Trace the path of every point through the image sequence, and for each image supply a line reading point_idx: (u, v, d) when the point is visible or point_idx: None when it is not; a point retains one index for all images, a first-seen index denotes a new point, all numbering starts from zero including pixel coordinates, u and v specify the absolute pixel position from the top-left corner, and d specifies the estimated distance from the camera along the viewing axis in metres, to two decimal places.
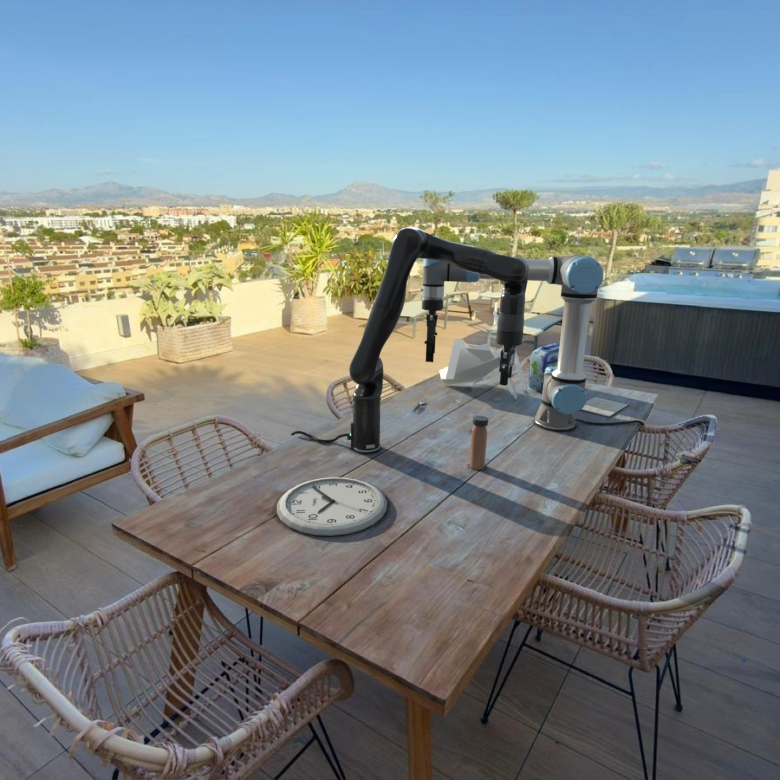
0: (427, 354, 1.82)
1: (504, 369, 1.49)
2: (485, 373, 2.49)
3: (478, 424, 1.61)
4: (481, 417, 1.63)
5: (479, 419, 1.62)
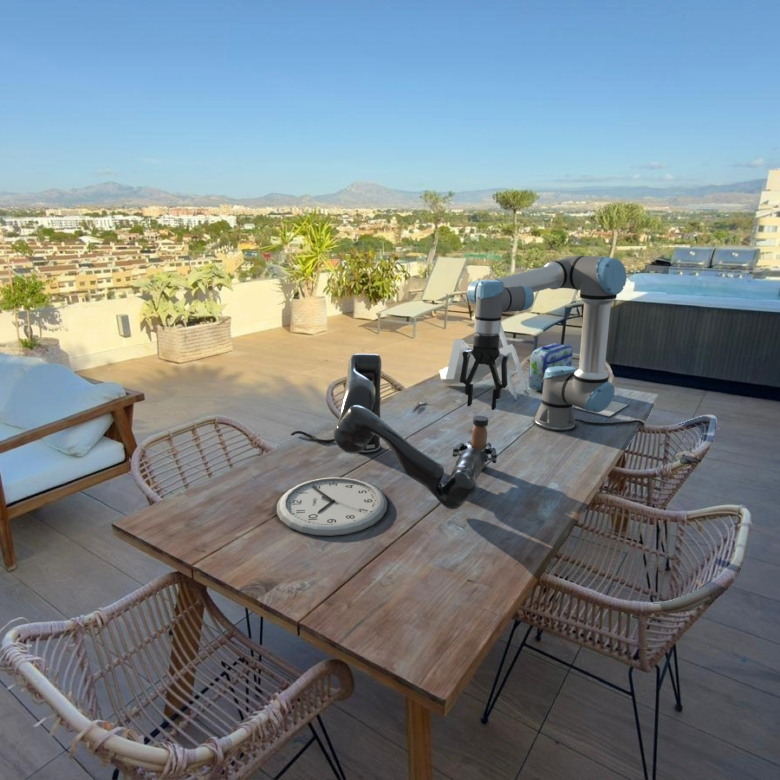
0: None
1: None
2: (485, 373, 2.49)
3: (478, 424, 1.61)
4: (481, 417, 1.63)
5: (479, 419, 1.62)
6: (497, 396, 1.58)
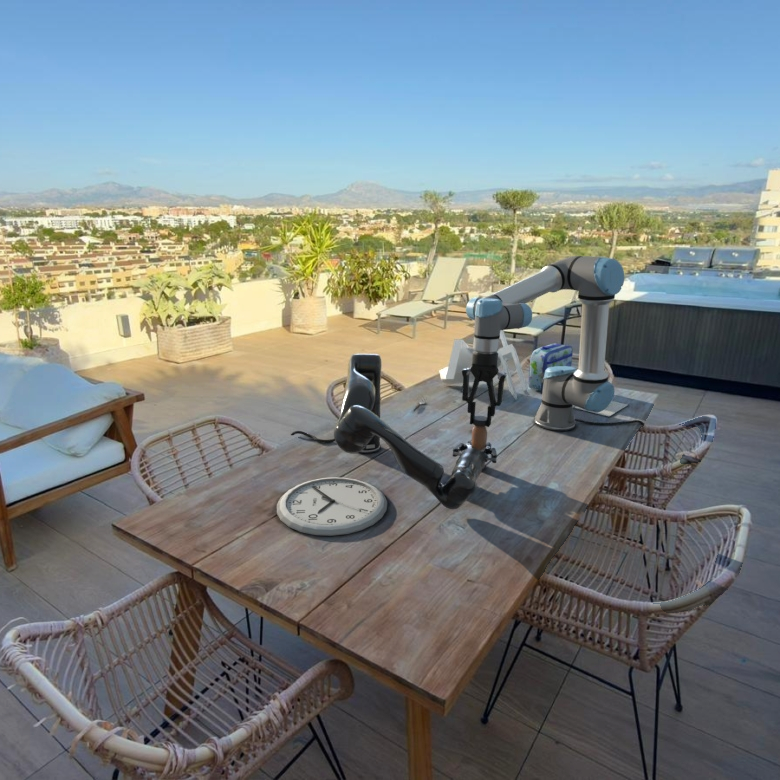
0: None
1: None
2: None
3: (478, 424, 1.61)
4: (481, 417, 1.63)
5: (479, 419, 1.62)
6: (492, 413, 1.60)
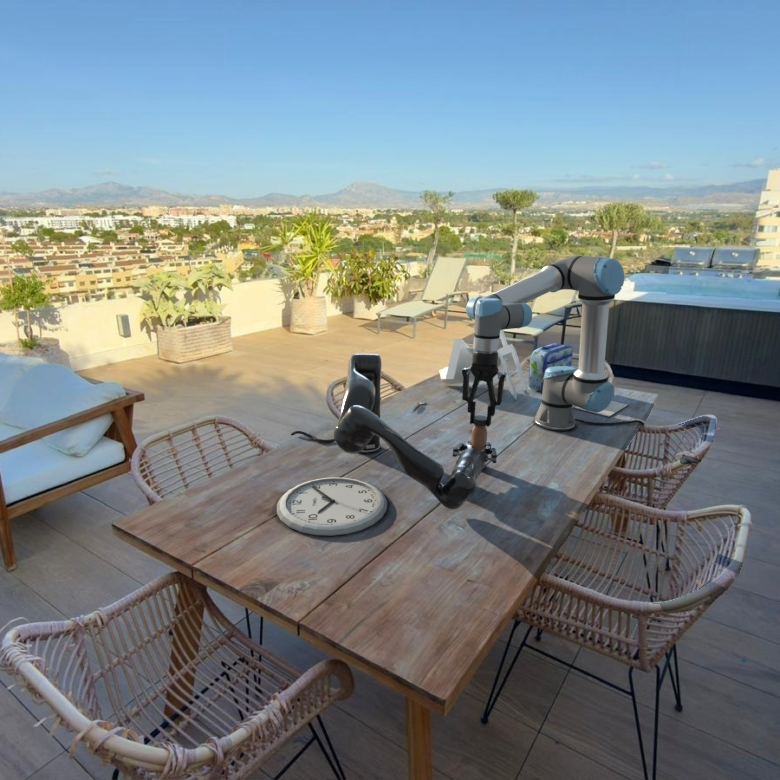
0: None
1: None
2: None
3: None
4: (478, 417, 1.63)
5: (485, 418, 1.62)
6: (492, 413, 1.60)
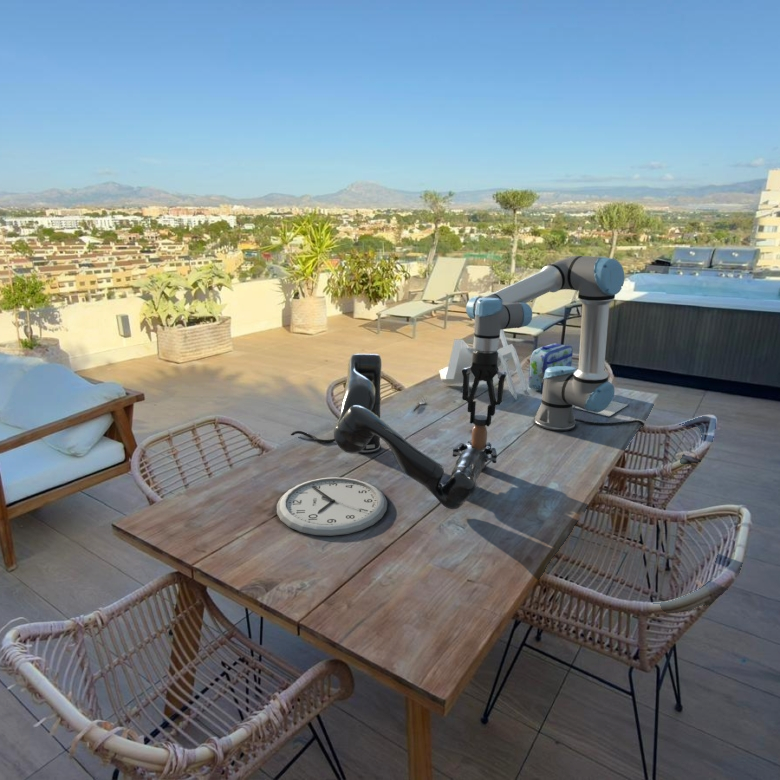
0: None
1: None
2: None
3: None
4: (481, 418, 1.62)
5: (479, 416, 1.64)
6: (492, 413, 1.60)
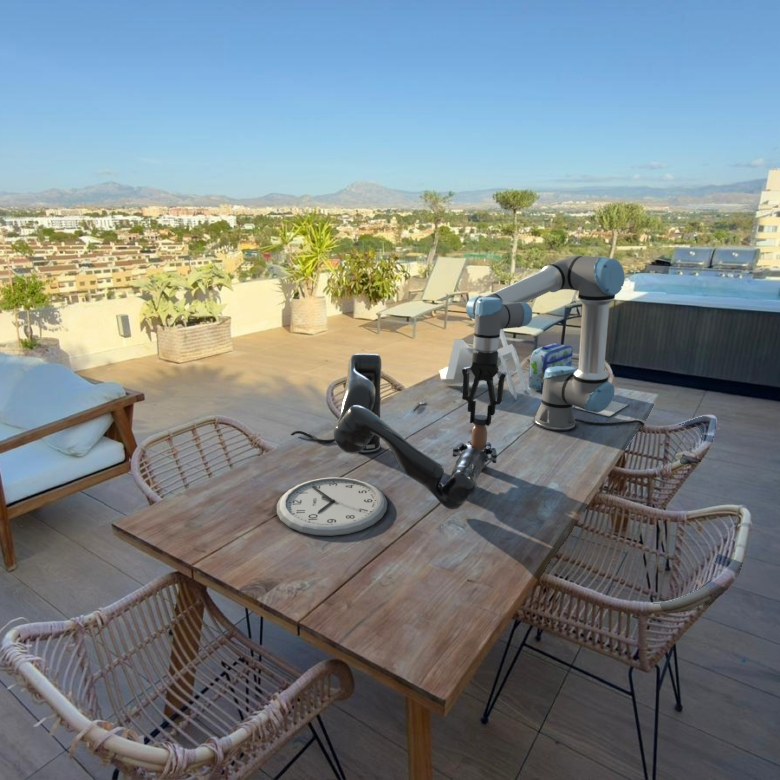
0: None
1: None
2: None
3: (474, 421, 1.62)
4: (482, 416, 1.63)
5: (477, 417, 1.62)
6: (492, 412, 1.60)
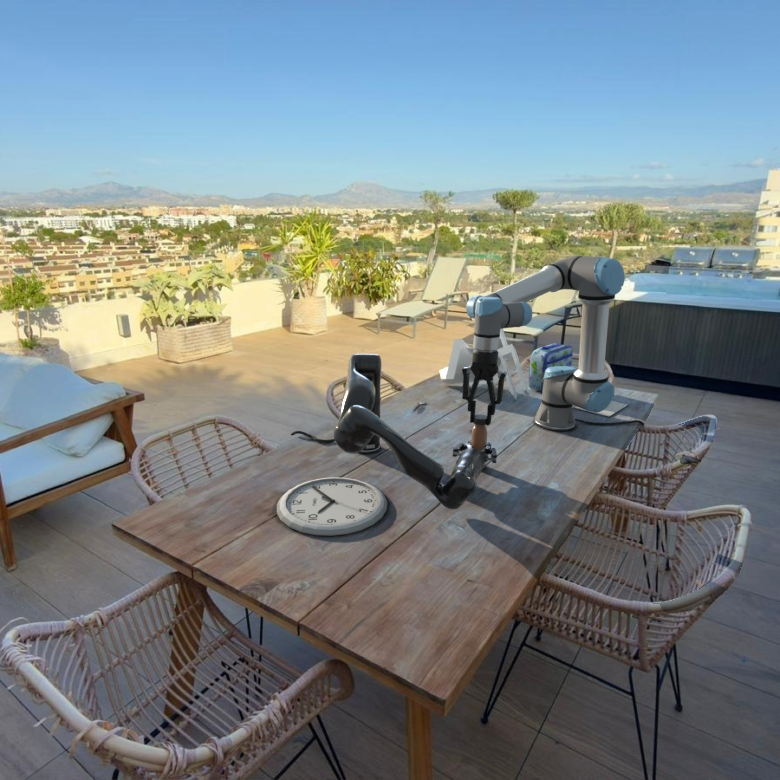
0: None
1: None
2: None
3: (485, 422, 1.61)
4: (479, 416, 1.63)
5: (483, 418, 1.62)
6: (492, 412, 1.60)
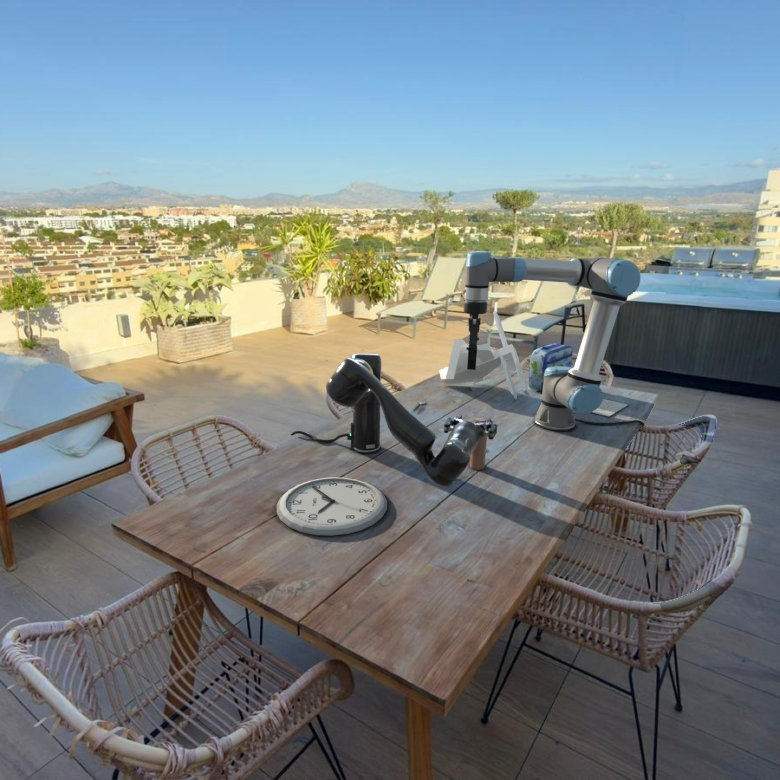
0: (469, 361, 1.68)
1: (495, 428, 1.45)
2: (485, 373, 2.49)
3: None
4: None
5: None
6: None
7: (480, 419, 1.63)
